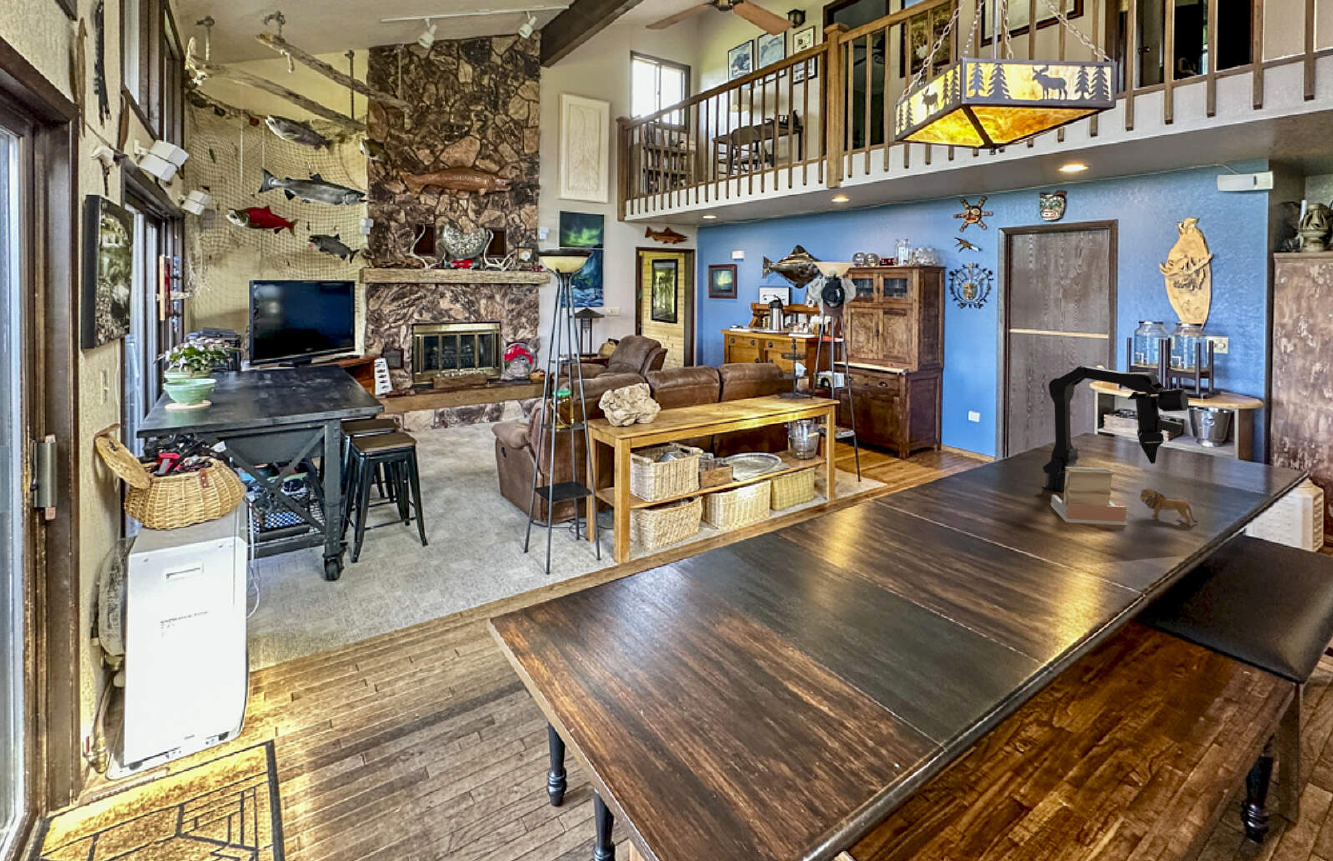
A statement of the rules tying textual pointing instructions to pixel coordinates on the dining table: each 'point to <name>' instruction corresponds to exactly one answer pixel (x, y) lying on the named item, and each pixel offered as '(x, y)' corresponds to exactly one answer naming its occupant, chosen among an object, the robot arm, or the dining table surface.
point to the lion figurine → (1165, 504)
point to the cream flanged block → (1087, 486)
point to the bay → (1090, 512)
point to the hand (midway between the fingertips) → (1152, 461)
